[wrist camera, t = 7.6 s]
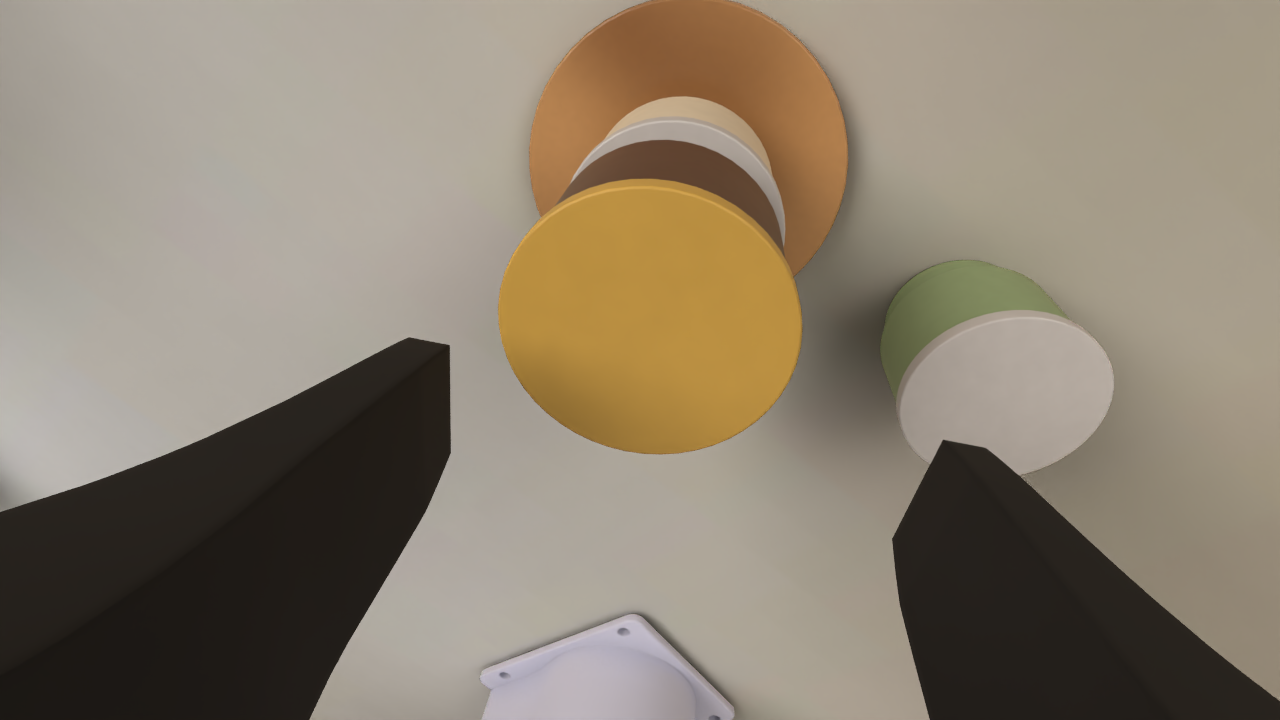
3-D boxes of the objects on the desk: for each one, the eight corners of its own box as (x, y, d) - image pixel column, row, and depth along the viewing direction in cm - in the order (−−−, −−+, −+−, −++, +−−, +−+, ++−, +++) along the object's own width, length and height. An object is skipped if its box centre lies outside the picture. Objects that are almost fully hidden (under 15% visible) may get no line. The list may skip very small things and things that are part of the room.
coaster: (650, 353, 21) (648, 363, 21) (472, 131, 18) (464, 136, 18) (901, 211, 18) (906, 219, 17) (734, -91, 15) (734, -92, 14)
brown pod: (645, 366, 16) (618, 493, 12) (514, 205, 14) (436, 296, 10) (825, 265, 14) (859, 378, 10) (700, 65, 12) (686, 114, 8)
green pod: (910, 409, 21) (947, 504, 17) (840, 298, 19) (864, 378, 16) (1065, 341, 19) (1142, 431, 16) (1003, 211, 17) (1073, 279, 14)
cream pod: (662, 289, 19) (646, 367, 16) (560, 154, 17) (515, 207, 14) (807, 200, 17) (827, 266, 14) (709, 40, 16) (702, 67, 12)
